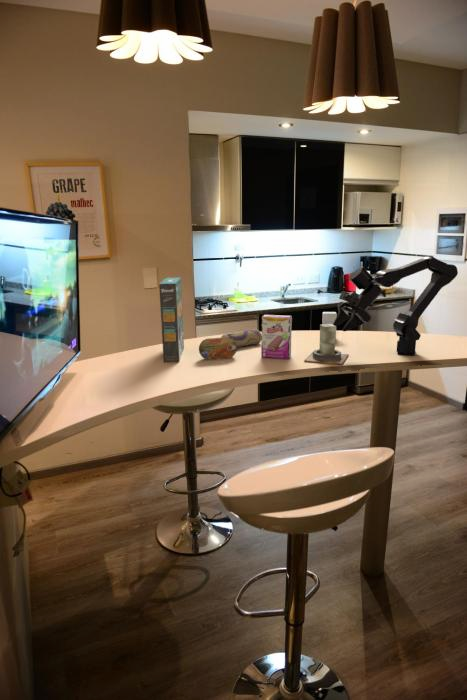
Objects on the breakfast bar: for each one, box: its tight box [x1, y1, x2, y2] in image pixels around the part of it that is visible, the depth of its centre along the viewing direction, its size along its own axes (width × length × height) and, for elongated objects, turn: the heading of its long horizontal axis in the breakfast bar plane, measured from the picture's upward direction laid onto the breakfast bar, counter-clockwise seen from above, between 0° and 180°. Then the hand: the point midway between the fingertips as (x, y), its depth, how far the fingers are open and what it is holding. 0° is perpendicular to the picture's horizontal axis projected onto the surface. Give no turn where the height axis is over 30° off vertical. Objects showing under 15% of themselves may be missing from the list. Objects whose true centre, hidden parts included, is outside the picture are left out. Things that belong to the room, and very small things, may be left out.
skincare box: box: [322, 311, 338, 340], centre depth 208 cm, size 6×4×12 cm
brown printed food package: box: [198, 336, 238, 361], centre depth 179 cm, size 15×3×8 cm, turn 105°
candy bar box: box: [260, 314, 293, 360], centre depth 179 cm, size 11×5×16 cm, turn 74°
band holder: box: [303, 348, 349, 366], centre depth 177 cm, size 14×14×3 cm
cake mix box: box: [158, 277, 185, 363], centre depth 183 cm, size 22×6×30 cm, turn 1°
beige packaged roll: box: [220, 328, 262, 349], centre depth 196 cm, size 26×8×7 cm, turn 125°
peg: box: [318, 324, 337, 355], centre depth 175 cm, size 4×4×12 cm
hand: (338, 328), depth 175 cm, fingers open, 9 cm apart
